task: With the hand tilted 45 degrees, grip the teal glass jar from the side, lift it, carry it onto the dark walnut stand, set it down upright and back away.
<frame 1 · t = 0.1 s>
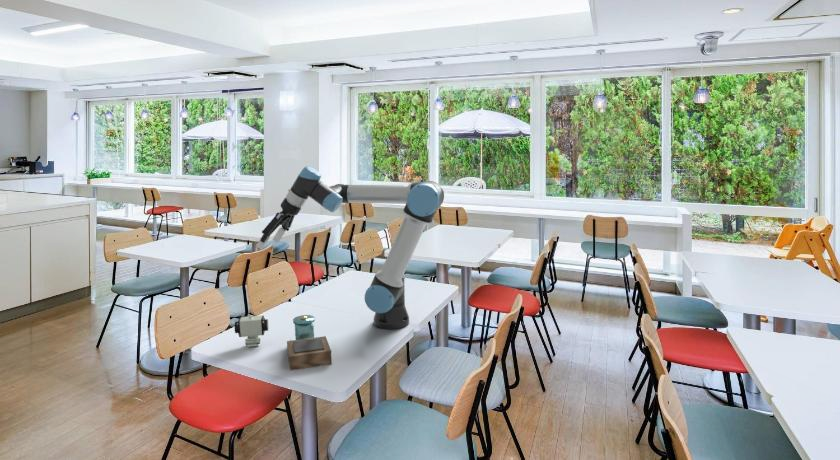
hand: (267, 244, 201), 36 cm above the table, tool tilted 35°, fingers open, 13 cm apart
pneumatic valve: (253, 345, 190), on the table
teal glass jar: (305, 343, 191), on the table
walnut stand: (309, 359, 177), on the table
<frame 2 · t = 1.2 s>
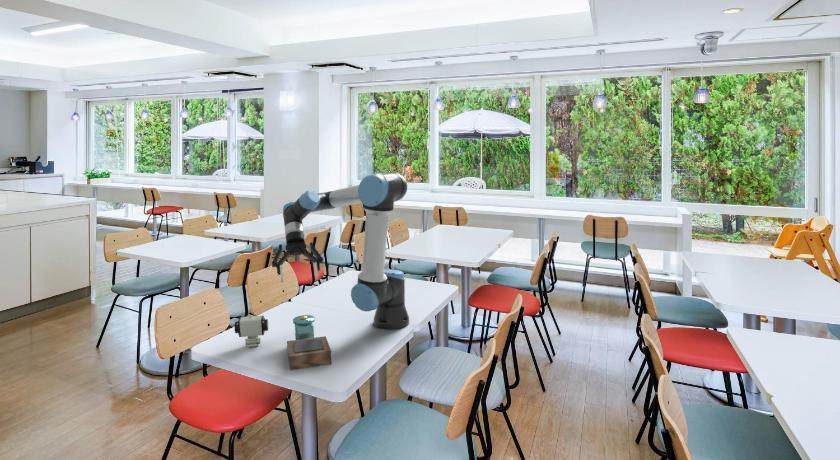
hand: (299, 279, 196), 23 cm above the table, tool tilted 45°, fingers open, 13 cm apart
nothing on the table moved.
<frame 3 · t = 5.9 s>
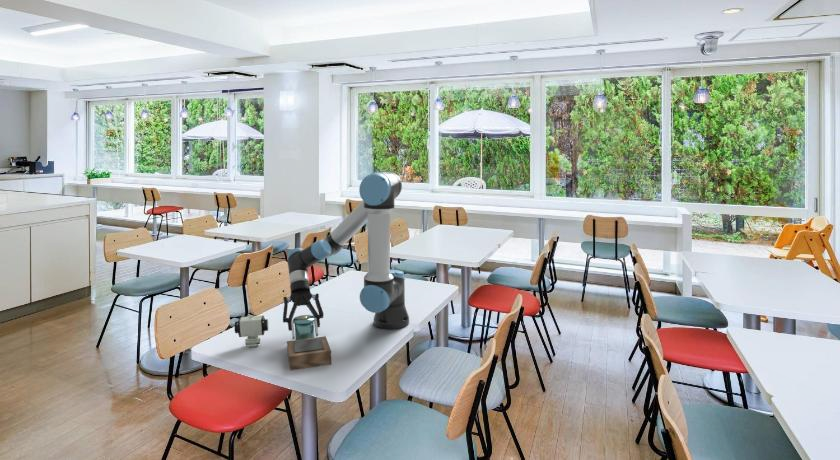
hand: (305, 336, 187), 4 cm above the table, tool tilted 45°, fingers closed on teal glass jar, 8 cm apart
teal glass jar: (305, 343, 191), on the table, touching gripper
everything else where it was.
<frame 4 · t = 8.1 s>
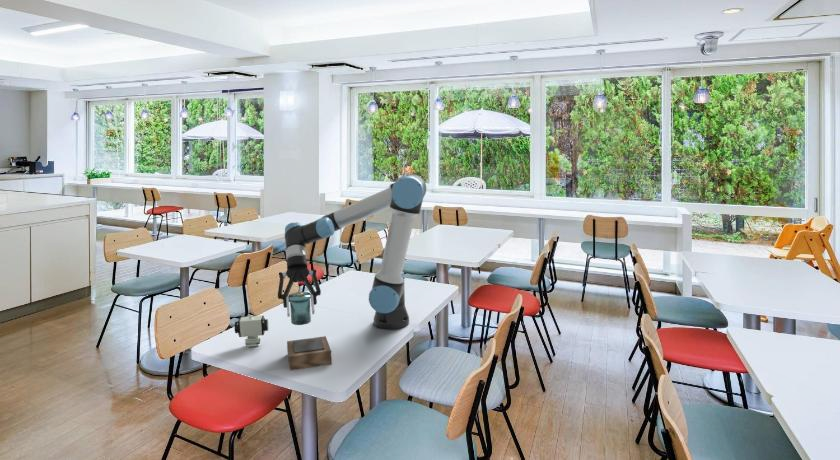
hand: (301, 313, 177), 16 cm above the table, tool tilted 45°, fingers closed on teal glass jar, 8 cm apart
teal glass jar: (301, 321, 181), point 12 cm above the table, touching gripper
everything else where it was.
when the fingers open (11 cm above the table, at t = 10.3 s): teal glass jar drops 1 cm, resting on walnut stand.
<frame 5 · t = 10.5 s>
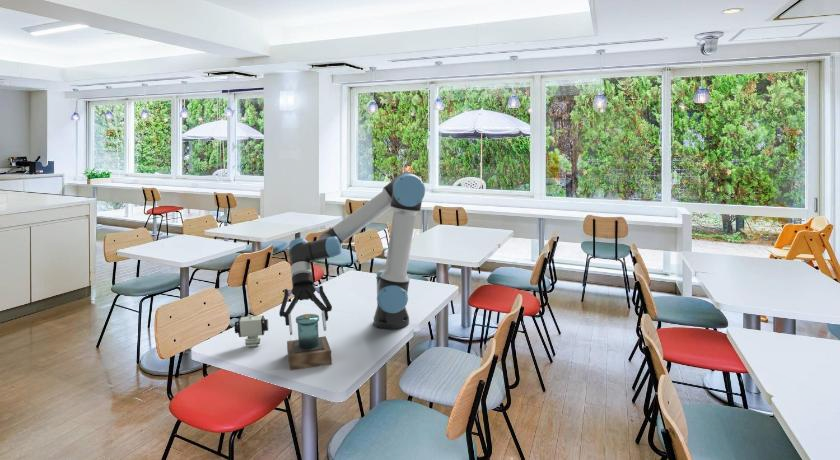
hand: (308, 331, 172), 12 cm above the table, tool tilted 45°, fingers open, 11 cm apart
teal glass jar: (308, 344, 176), point 5 cm above the table, touching walnut stand
everything else where it was.
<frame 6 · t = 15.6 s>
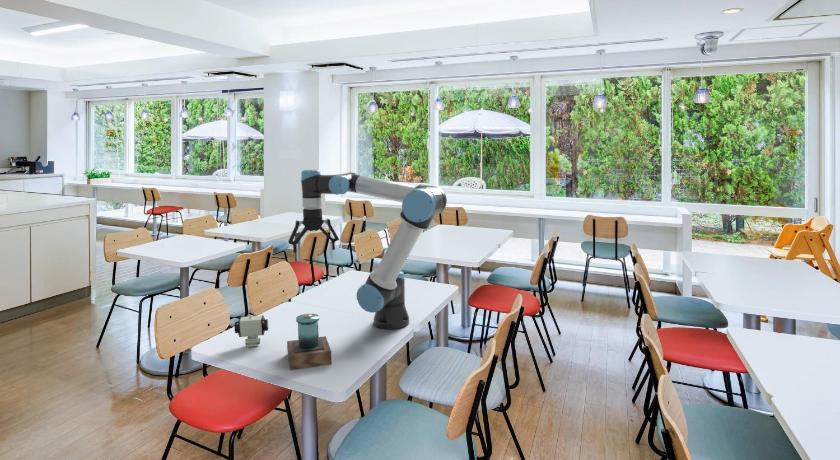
hand: (314, 259, 205), 29 cm above the table, tool pointing down, fingers open, 13 cm apart
nothing on the table moved.
at the end: teal glass jar inside the target area on the walnut stand (0.2 cm from its centre), point 5.5 cm above the walnut stand's base; teal glass jar tilted 2°; the gripper is holding nothing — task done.
